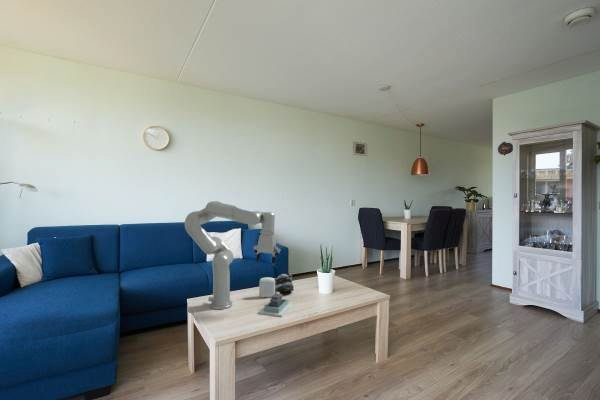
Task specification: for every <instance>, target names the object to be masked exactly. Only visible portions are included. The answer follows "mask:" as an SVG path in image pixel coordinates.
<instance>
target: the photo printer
mask: <svg viewBox="0 0 600 400" xmlns="http://www.w3.org/2000/svg"><path fill="white" fill-rule="evenodd" d="M259 279H260V280H259V284H258V291H259V292H258V297H259V298H271V296H273V295H274V294H275V278H273V277H270V276H269V277H261V278H259Z"/></svg>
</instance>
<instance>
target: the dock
mask: <svg viewBox="0 0 600 400" xmlns="http://www.w3.org/2000/svg"><path fill="white" fill-rule="evenodd" d="M293 306H294V302H293V303H292V302H289V299H287V298H282V305H281V306H279V307H278V308H276V307H271V301H270V300H269V302H268V303H267V304H265V305H264V306H263V308H261V309H260V310H258V314H259V315H260V314H261V315H266V316H273V317H281V318H283V316H285V314H287V312H288V311H289V310H290V309H291V308H293Z"/></svg>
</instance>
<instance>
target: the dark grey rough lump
mask: <svg viewBox="0 0 600 400" xmlns="http://www.w3.org/2000/svg"><path fill="white" fill-rule="evenodd" d="M274 279H275V293H276V292H279V294H281V293H286V292H290V293H291V292H293V291H294V284H293V275H292V274H289V272H287V273H281V274H279V275H277V277H275V278H274Z"/></svg>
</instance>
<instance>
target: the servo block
mask: <svg viewBox="0 0 600 400" xmlns="http://www.w3.org/2000/svg"><path fill="white" fill-rule="evenodd" d="M283 297H284V295H283V294H282V293H279V292H276V293H275V294H274V295H273V296H271V297H270V300H269V302H270V301H271V307H276V308H278V307H279V306H281V305H282V299H283Z"/></svg>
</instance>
